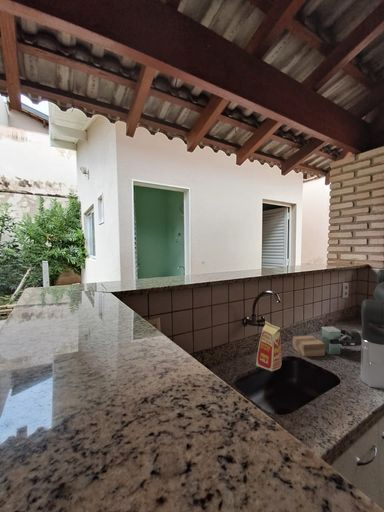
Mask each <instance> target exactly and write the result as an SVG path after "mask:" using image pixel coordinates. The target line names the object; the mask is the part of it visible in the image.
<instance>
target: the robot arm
mask: <svg viewBox="0 0 384 512" xmlns="http://www.w3.org/2000/svg"><path fill="white" fill-rule="evenodd" d="M373 297H374V299H370V298H369V299H364V300H363V301H362V302H361V312H360V313H361V330H346V331H345V332H344V333H341V336H340V339H338V340H337V339H332V340H330V344H339V345H340V346H341V347H361V348H360V381H362V382H363V383H364V384H365V385H368V387H370V388H376V389H381V390H384V268H380V269H379V270H378V271H377V274H376V287H375V289H374V291H373ZM374 324H376V325H380V327H382V328H378V327H376V325H374Z"/></svg>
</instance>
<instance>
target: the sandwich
mask: <svg viewBox="0 0 384 512" xmlns="http://www.w3.org/2000/svg"><path fill="white" fill-rule="evenodd" d="M292 348H293V349H294V350H295V351H297V353H299V354H300V355H301V356H303V357H320V356H323V357H325V356H326V354H325V353H326V352H325V344H324V343H323V342H322V340H320V339H318V338H316V337H315V336H314V335H294V336H292Z"/></svg>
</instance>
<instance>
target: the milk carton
mask: <svg viewBox="0 0 384 512" xmlns="http://www.w3.org/2000/svg"><path fill="white" fill-rule="evenodd" d="M280 329H281V327H279V326H276V325H273V324H272V323H269V322H268V321H265V325H264V326H263V327H262V331H261V334H260V338H259V344H258V349H257V353H256V361H255V366H257V367H259V368H262V369H265V370H266V371H270V372H275V371H277V370H279V369H281V366H282V362H283V361H282V344H281V332H280Z"/></svg>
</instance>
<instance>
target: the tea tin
mask: <svg viewBox="0 0 384 512" xmlns="http://www.w3.org/2000/svg"><path fill="white" fill-rule="evenodd" d="M341 332H342V330H341V329H339V328H337V327H334V326H321V342H323V343H324V344H325V353H326V354H328V355H340V354H341V345H339V344H330V340H332V339H337V340H338V339H340V336H341V334H342V333H341Z"/></svg>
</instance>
